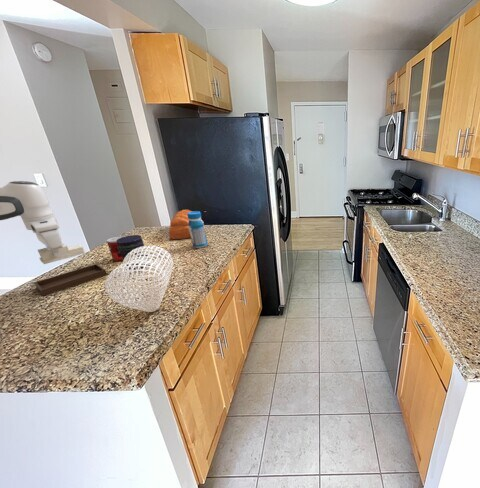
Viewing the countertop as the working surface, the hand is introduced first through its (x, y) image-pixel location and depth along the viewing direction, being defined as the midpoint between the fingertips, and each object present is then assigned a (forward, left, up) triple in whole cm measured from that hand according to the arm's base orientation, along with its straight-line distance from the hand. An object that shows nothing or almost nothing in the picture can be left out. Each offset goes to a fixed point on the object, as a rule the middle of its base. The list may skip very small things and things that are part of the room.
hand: (55, 254), depth 108 cm
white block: (+2, 0, -2) cm, 3 cm away
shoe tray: (+2, 0, -14) cm, 14 cm away
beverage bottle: (+57, -9, -14) cm, 59 cm away
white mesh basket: (+12, -53, -14) cm, 56 cm away
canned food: (+24, +9, -14) cm, 29 cm away
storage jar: (+24, -9, -14) cm, 29 cm away
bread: (+66, +23, -14) cm, 71 cm away
